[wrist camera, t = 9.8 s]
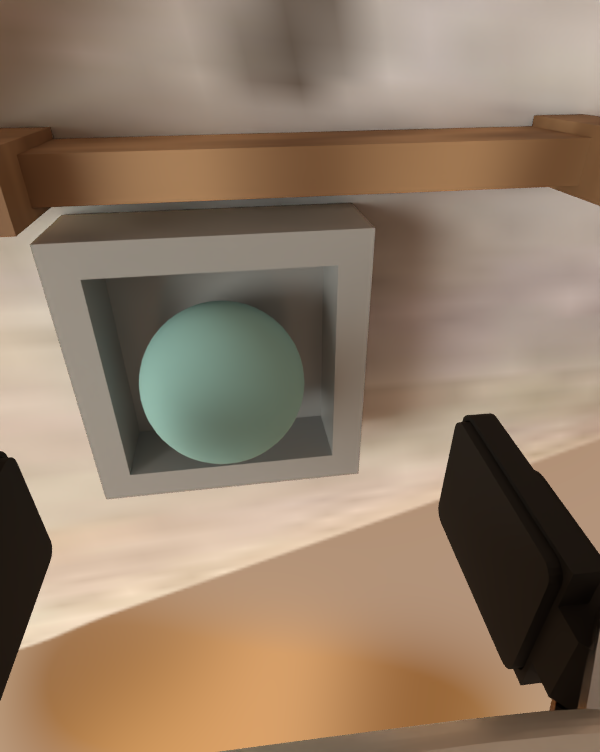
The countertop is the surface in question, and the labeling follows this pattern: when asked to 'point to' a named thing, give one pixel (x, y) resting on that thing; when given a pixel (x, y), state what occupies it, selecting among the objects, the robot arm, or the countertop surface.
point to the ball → (221, 382)
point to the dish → (204, 284)
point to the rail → (291, 165)
